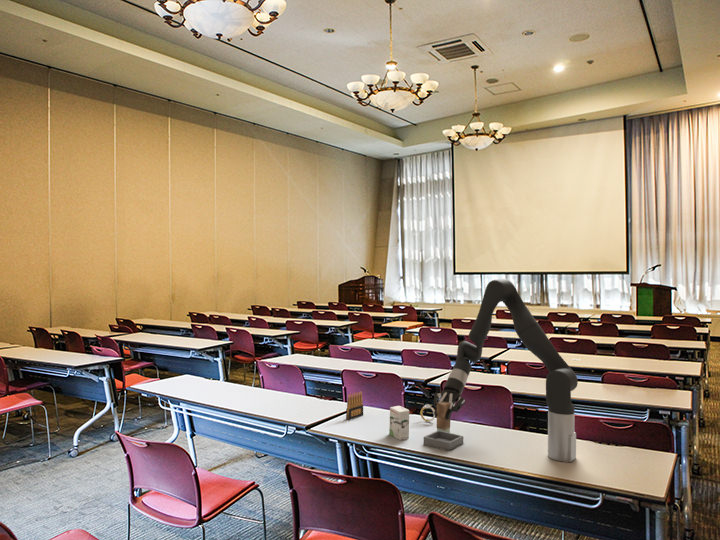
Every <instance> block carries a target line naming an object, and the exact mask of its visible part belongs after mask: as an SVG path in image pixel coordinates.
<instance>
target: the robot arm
mask: <svg viewBox="0 0 720 540" xmlns="http://www.w3.org/2000/svg"><path fill="white" fill-rule="evenodd" d="M500 302H502V303H503V305H505V306H506V308H507V310H508V311H509V312H510V315H511V318H512V323H513V326H514V330H515V333H516V335H517V336H518V338H519V339H520V341H521V342H522V344H523V346H524V347H525V348H526V349H528V351H529V352H530V353H531V354H533V355H534V356H535V357H537V358H538V359H539V360H540V361H541V362H542V364H543V365H544V366H545V367H546V369H547V371H548V374H547V375H546V378H545V401H546V404H547V410H548V411H547V420H548V421H547V457H548V458H550V459H552V460H555V461H558V462H567V463H568V462H569V463H572V462H574V460H575V459H576V458H577V432H575V418H576V417H575V409H576V407H575V404H573V403H572V392H573V391H574V390H575V389H576V388H577V387H578V383H579V382H578V377H577V374H576V373H575V371H574V370H573V369H572V368H571V366H570V365H568V363H567V362H566V361H565V360H564V359H563V356H561V355H560V353H559V352H558V350H557V349H556V347H555V346H554V344H553V343H552V342H551V340H550V338H549V337H548V336H547V335H546V333H545V331H544V330H543V328H542V327H541V326H540V324H539V323H538V321H537V320H536V318H535V317H534V315H532V313H531V312H530V310H529V309H528V307H527V305H526V304H525V303H524V301H523V299H522V297H521V296H520V294H519V292H518V289H517V288H516V286H515V285H514V284H513V282H512V281H511V280H510V279H506V278H500V279H494V280H491V281H489V282H487V285H486V287H485V291H484V293H483V297H482V300H481V303H480V308H479V311H478V313H477V316H476V319H475V320H474V323H473V325H472V327H471V329H470V331H469V334H468V338H469V340H470V341H472V342H473V343H471V342H469V341H466V340H462V341H461V342H460V343H459V344H458V346H457V352H456V360H455V364H454V365H453V367H452V370H451V371H450V373H449V375H448V377H447V379H446V382H445V383H444V386H443V389H442V390H441V392H439V393H438V392H434V394H433V396H434V397H433V405H434V407H435V409H434V410H435V412H434V413H433V415H434V414H435V418H437V403H438V402H442V401H444V402H449V403H450V405H449V409H448V410H447V412H446V414H445V419H446V420H448V419H449V418H450V419H451V416H452V413H458V412H459V410H460V409H461V408H462V407H463V406H464V404H465V403H466V400H465V398H464V397H462V396H461V395H462V393H463V391H464V389H465V386H466V384H467V381H468V378H469V376H470V373H471V370H472V364H471V362H472V363H477V362H479V361H480V360H481V358H482V353H483V347H484V343H485V340H486V338H487V336H488V334H489V332H490V330H491V327H492V322H493V321H492V320H493V314H494V311H495V309H496V308H497V306H498V305H499V303H500ZM469 361H470V362H469Z"/></svg>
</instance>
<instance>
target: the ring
mask: <svg viewBox="0 0 720 540" xmlns="http://www.w3.org/2000/svg"><path fill="white" fill-rule="evenodd" d="M425 409H430V410H431V411H432V412H433V417H432V418H431V419H429V418H427V419H426V418H425V416H424V414H423V412H424V410H425ZM435 410H436V409H435V408H434V407H432V405H431V404H429V403H427V404H423V406H422V408H421V410H420V413H419V414H420V417H421V419H422V420H423V421H425V422H426V423H431V422H433V421H434V419H436V417H435V414H434V412H435Z"/></svg>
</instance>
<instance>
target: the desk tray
mask: <svg viewBox="0 0 720 540" xmlns="http://www.w3.org/2000/svg"><path fill="white" fill-rule="evenodd" d="M423 445H424V446H429V447H432V448H437V449H440V450H444V451H447V452H450V451H452V450H454V449H456V448H458V447H460V446H462V445H464V435H460V434H456V433H451V432H450V433H448V432H444V431H440V430H438V431H437V430H436V431H433V432H431V433H429V434H427V435H425V436H423Z"/></svg>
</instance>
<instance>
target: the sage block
mask: <svg viewBox="0 0 720 540" xmlns="http://www.w3.org/2000/svg"><path fill="white" fill-rule="evenodd" d="M438 430H440V431H444V432H448V433H451V427H450V428H448V429H446V430H443V429H439V428H437V427H436V431H438Z"/></svg>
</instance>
